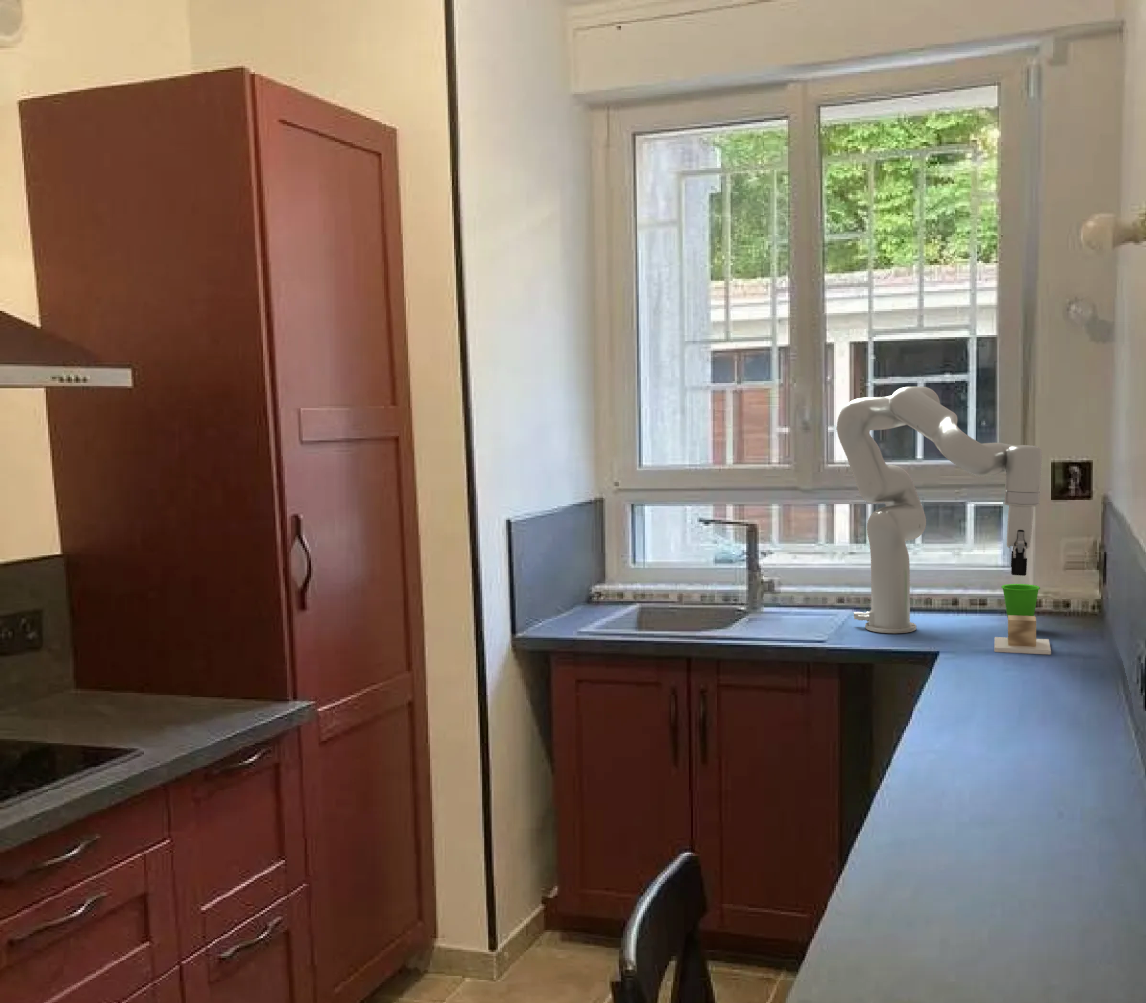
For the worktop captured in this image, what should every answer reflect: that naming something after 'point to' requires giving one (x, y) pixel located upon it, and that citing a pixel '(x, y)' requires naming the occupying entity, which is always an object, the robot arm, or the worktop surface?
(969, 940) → the worktop surface
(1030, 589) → the cup
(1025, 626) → the block
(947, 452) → the robot arm
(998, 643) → the panel
